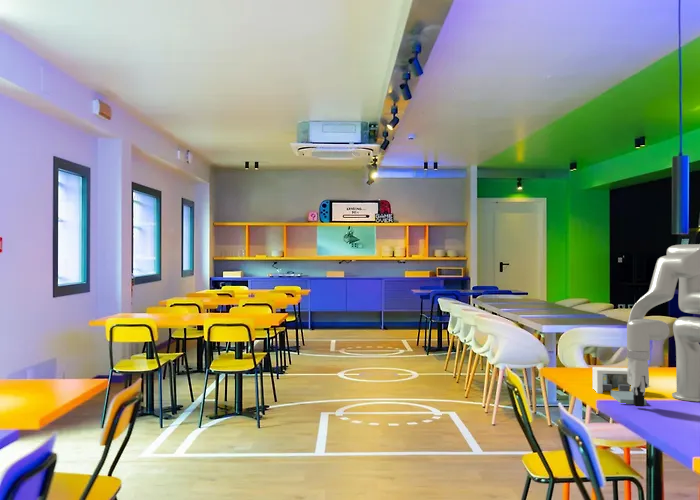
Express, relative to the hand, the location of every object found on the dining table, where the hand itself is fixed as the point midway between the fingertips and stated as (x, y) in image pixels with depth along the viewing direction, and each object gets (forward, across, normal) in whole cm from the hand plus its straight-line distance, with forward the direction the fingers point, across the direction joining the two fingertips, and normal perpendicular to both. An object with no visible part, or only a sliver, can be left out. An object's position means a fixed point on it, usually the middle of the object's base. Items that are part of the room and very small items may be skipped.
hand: (638, 405), depth 218 cm
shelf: (+1, -28, 0) cm, 28 cm away
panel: (+1, -13, 0) cm, 13 cm away
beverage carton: (+1, -42, +4) cm, 43 cm away
